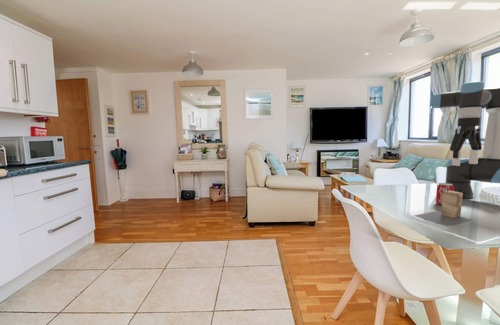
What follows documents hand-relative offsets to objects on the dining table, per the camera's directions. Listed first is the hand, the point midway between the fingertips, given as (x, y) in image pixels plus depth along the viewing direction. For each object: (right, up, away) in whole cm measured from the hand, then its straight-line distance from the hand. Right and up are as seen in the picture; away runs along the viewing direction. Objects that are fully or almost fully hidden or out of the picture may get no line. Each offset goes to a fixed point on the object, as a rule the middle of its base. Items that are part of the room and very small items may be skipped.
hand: (464, 164), depth 111 cm
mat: (-12, -25, -2) cm, 28 cm away
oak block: (-6, -24, 0) cm, 25 cm away
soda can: (+4, -22, +17) cm, 28 cm away
